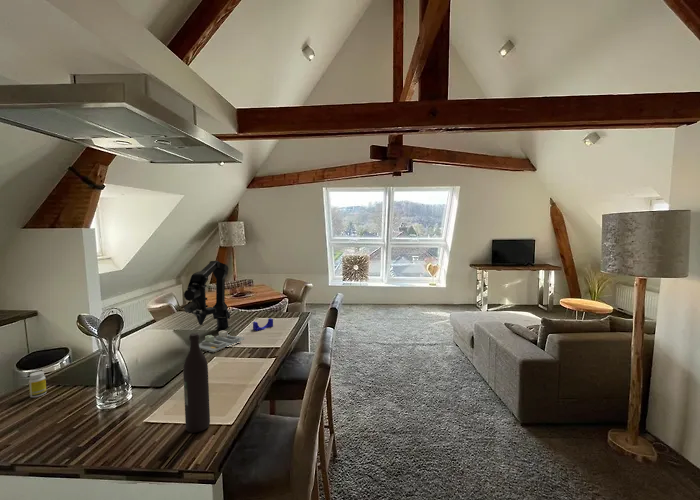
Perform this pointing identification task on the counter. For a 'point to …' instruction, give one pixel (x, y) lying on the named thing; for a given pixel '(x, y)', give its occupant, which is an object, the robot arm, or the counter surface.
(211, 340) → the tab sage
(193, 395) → the wine bottle
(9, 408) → the counter surface
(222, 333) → the tab ivory
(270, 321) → the blue u-shaped bracket
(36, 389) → the supplement bottle
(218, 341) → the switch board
